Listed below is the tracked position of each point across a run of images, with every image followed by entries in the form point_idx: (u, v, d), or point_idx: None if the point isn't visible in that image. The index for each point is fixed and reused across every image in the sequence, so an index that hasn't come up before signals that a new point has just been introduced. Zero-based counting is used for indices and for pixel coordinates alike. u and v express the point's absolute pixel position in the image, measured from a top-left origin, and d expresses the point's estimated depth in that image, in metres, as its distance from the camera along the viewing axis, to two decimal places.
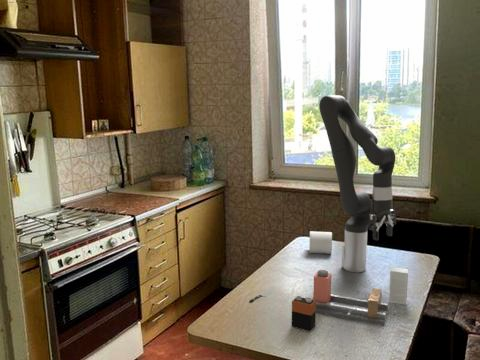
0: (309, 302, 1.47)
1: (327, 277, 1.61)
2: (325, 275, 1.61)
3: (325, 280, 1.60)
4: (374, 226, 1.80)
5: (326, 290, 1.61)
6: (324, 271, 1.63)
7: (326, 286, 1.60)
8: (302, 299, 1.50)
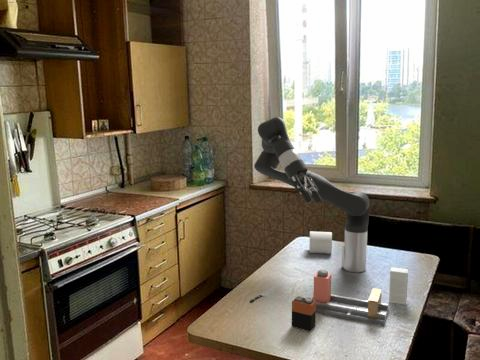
0: (309, 302, 1.47)
1: (327, 277, 1.61)
2: (325, 275, 1.61)
3: (325, 280, 1.60)
4: (301, 184, 1.61)
5: (326, 290, 1.61)
6: (324, 271, 1.63)
7: (326, 286, 1.60)
8: (302, 299, 1.50)
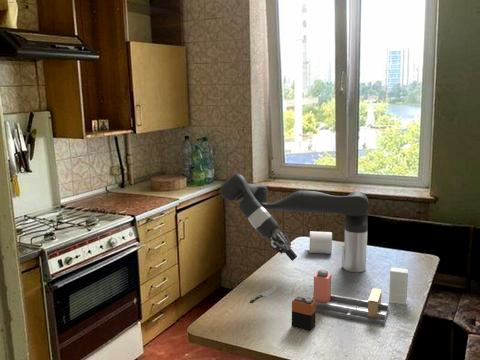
0: (309, 302, 1.47)
1: (327, 277, 1.61)
2: (325, 275, 1.61)
3: (325, 280, 1.60)
4: (283, 247, 1.63)
5: (326, 290, 1.61)
6: (324, 271, 1.63)
7: (326, 286, 1.60)
8: (302, 299, 1.50)
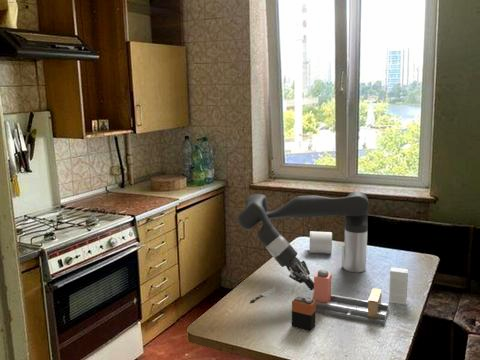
0: (309, 302, 1.47)
1: (327, 277, 1.61)
2: (325, 275, 1.61)
3: (325, 280, 1.60)
4: (302, 277, 1.62)
5: (326, 290, 1.61)
6: (324, 271, 1.63)
7: (326, 286, 1.60)
8: (302, 299, 1.50)
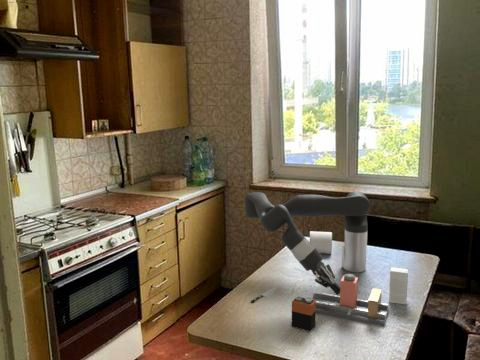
0: (309, 302, 1.47)
1: (354, 281, 1.57)
2: (352, 279, 1.58)
3: (352, 285, 1.57)
4: (328, 281, 1.59)
5: (353, 295, 1.57)
6: (351, 275, 1.59)
7: (353, 290, 1.57)
8: (302, 299, 1.50)
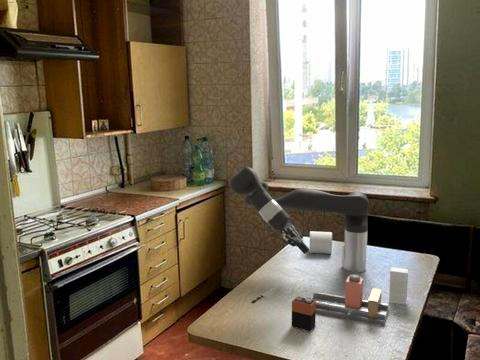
0: (309, 302, 1.47)
1: (359, 282, 1.56)
2: (357, 280, 1.57)
3: (357, 285, 1.56)
4: (295, 240, 1.61)
5: (358, 295, 1.56)
6: (356, 276, 1.59)
7: (358, 291, 1.56)
8: (302, 299, 1.50)
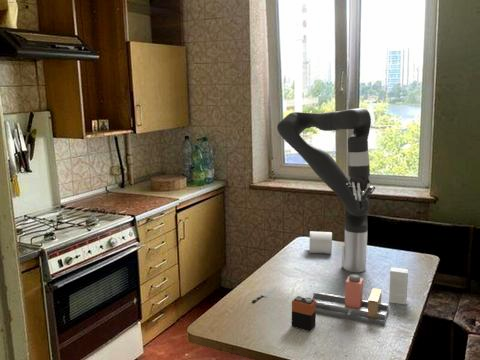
0: (309, 302, 1.47)
1: (359, 282, 1.56)
2: (357, 280, 1.57)
3: (357, 285, 1.56)
4: None
5: (358, 295, 1.56)
6: (356, 276, 1.59)
7: (358, 291, 1.56)
8: (302, 299, 1.50)
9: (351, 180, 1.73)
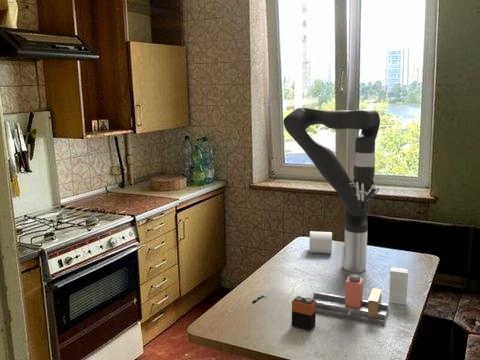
0: (309, 302, 1.47)
1: (359, 282, 1.56)
2: (357, 280, 1.57)
3: (357, 285, 1.56)
4: None
5: (358, 295, 1.56)
6: (356, 276, 1.59)
7: (358, 291, 1.56)
8: (302, 299, 1.50)
9: (355, 180, 1.74)
